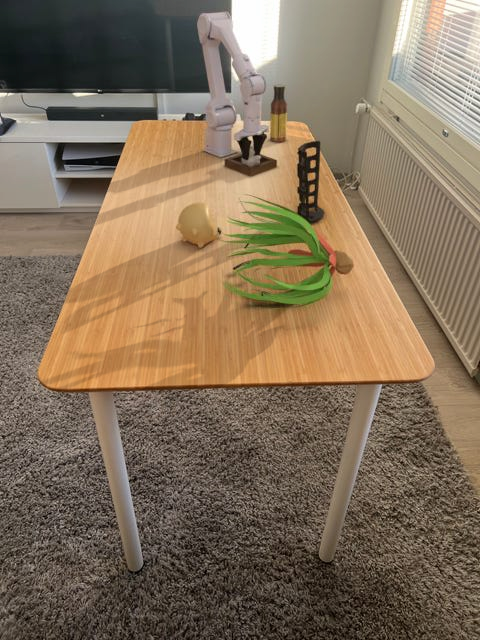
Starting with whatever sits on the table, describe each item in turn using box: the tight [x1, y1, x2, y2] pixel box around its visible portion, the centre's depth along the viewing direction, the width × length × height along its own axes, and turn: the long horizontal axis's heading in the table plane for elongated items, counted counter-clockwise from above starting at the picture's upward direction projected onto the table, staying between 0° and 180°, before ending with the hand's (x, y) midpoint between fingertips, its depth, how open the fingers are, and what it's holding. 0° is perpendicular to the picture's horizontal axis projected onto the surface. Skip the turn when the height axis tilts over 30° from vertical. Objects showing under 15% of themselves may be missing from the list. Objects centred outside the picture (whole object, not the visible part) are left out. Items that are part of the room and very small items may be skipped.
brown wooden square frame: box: [224, 153, 278, 177], centre depth 176 cm, size 13×13×2 cm
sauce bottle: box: [269, 83, 288, 143], centre depth 194 cm, size 7×6×20 cm
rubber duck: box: [241, 145, 261, 167], centre depth 175 cm, size 5×7×8 cm
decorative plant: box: [216, 193, 355, 310], centre depth 108 cm, size 26×25×30 cm
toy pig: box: [175, 202, 222, 249], centre depth 131 cm, size 10×12×11 cm
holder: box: [296, 140, 325, 225], centre depth 141 cm, size 11×8×20 cm
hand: (251, 157), depth 175 cm, fingers closed on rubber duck, 5 cm apart
